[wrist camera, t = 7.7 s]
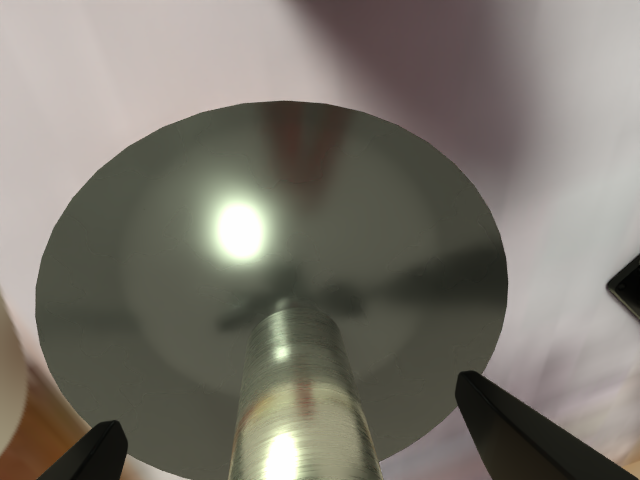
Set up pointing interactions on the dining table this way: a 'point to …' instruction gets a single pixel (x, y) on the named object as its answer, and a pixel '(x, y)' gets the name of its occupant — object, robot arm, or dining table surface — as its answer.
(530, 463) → the robot arm
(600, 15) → the dining table surface
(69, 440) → the dining table surface
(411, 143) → the lid
